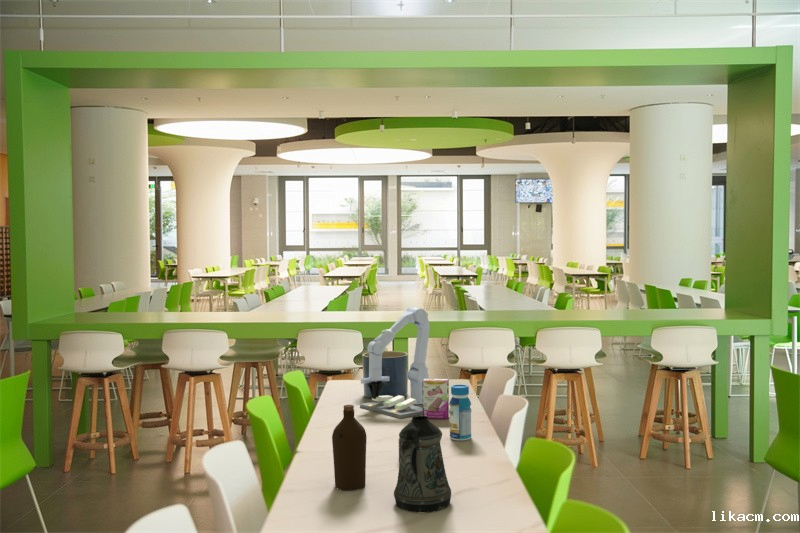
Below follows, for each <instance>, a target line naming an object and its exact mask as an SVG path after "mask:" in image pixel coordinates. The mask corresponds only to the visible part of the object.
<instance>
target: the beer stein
mask: <svg viewBox="0 0 800 533" xmlns="http://www.w3.org/2000/svg"><path fill="white" fill-rule="evenodd" d="M399 437H400V440H401V442H402V446H401V448H400V451H399V450H398V462H399V464H398V473H397V474H398V475H397V482H396V485H395V488H394V491H393V498H394V499H395V505H396V507H397V508H399V509H400V510H402V511H407V512H411V513H418V512H425V513H434V512H433V511H435V512H440V511H442V510H445V509H446V508H448V507H449V506H450V504H451V498H452V489H451V486H450V485H449V481H448V478H447V474H446V469H445V464H444V463H445V462H444V458H443V453H442V446H441V440H442V439H443V438H442V437H443V432H442V430H441V429H440V428H439V427H438V426H436V425H435V424H434V423H433V422H432V421H430V419H428V418H427V417H426V416H423V415H417V416H412V417H411V420H410V421H409V423H407V424H406V425H405V426H404V427H403V428H401V430H400V432H399V433H398V438H399Z"/></svg>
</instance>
